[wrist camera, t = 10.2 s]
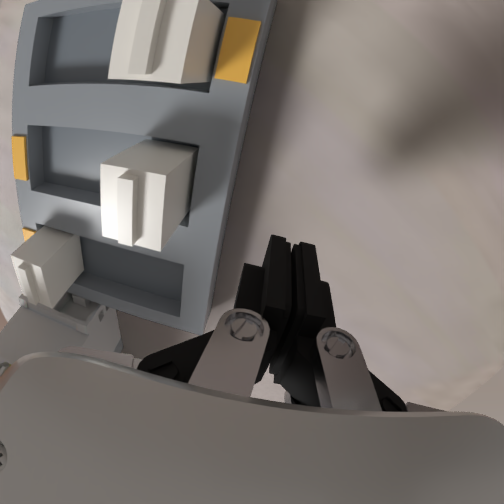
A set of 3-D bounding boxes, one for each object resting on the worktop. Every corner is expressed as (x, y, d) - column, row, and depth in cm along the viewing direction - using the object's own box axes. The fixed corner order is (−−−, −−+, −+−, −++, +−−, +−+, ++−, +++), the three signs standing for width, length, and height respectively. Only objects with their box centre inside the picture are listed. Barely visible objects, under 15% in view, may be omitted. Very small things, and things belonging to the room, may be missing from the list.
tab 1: (48, 221, 18) (6, 259, 14) (78, 230, 18) (36, 272, 14) (55, 259, 20) (19, 299, 16) (84, 269, 20) (48, 313, 16)
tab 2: (168, 13, 11) (117, -8, 6) (227, 16, 11) (196, -11, 6) (155, 75, 12) (100, 79, 8) (212, 81, 13) (175, 84, 8)
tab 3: (146, 139, 14) (93, 167, 10) (199, 148, 14) (161, 180, 10) (142, 197, 16) (96, 241, 12) (190, 208, 16) (156, 258, 12)
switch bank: (51, 6, 11) (23, 4, 8) (277, 0, 11) (274, -16, 9) (52, 260, 22) (33, 279, 20) (210, 309, 22) (201, 337, 20)
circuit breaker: (77, 357, 31) (26, 455, 18) (47, 266, 23) (-48, 387, 10) (130, 377, 31) (86, 488, 18) (112, 288, 23) (21, 443, 10)
